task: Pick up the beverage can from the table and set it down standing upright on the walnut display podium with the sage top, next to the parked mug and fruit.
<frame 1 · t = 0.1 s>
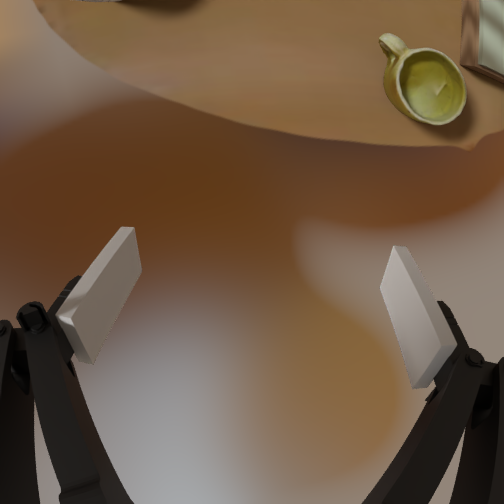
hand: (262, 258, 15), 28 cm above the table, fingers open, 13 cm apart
podium: (497, 38, 25), on the table
mug: (401, 73, 32), on the table
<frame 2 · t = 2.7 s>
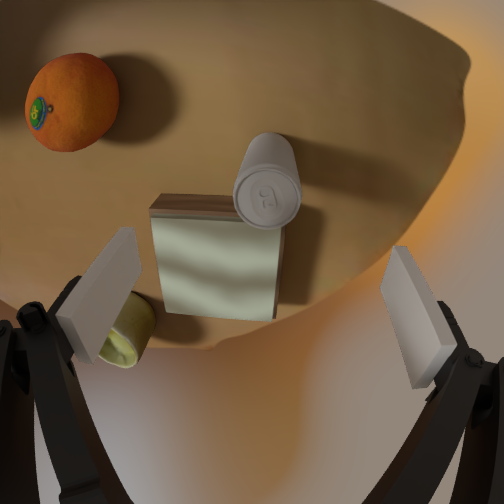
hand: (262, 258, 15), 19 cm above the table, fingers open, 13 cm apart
beverage can: (270, 153, 31), on the table
podium: (222, 249, 38), on the table
fruit: (91, 96, 28), on the table
mug: (121, 302, 45), on the table
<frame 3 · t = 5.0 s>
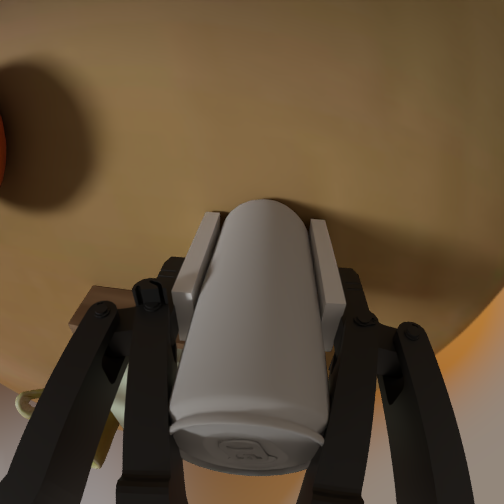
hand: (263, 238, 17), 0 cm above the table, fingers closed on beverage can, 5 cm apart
beverage can: (264, 233, 17), on the table, touching gripper
podium: (193, 360, 24), on the table
mug: (78, 389, 31), on the table
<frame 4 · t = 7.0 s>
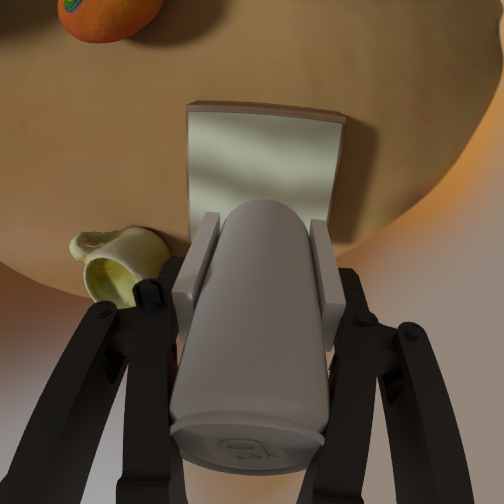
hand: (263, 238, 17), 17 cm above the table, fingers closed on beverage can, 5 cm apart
beverage can: (264, 233, 17), point 16 cm above the table, touching gripper
podium: (262, 169, 32), on the table
fruit: (128, 1, 22), on the table
mug: (132, 244, 39), on the table
when the fingers open (7 cm above the table, at t = 9.2 s): beverage can drops 1 cm, resting on podium.
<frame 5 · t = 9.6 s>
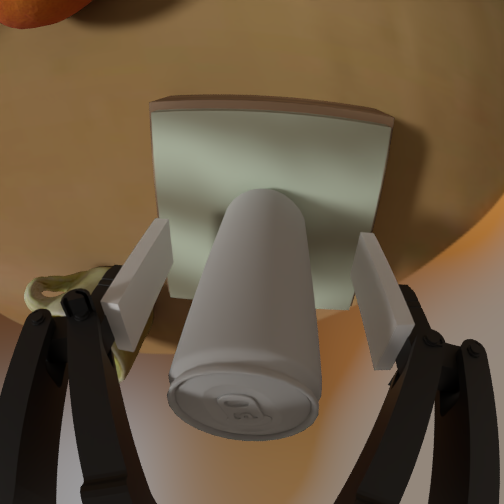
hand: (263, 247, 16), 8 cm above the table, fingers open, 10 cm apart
beverage can: (263, 221, 19), point 5 cm above the table, touching podium
podium: (267, 191, 23), on the table
mug: (103, 286, 30), on the table
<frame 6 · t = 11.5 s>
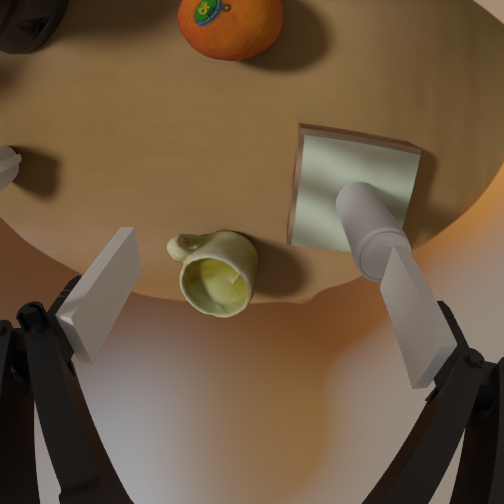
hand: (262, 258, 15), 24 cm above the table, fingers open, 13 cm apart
mug 2: (14, 160, 39), on the table
beverage can: (355, 199, 33), point 5 cm above the table, touching podium
podium: (347, 185, 37), on the table
fruit: (236, 22, 28), on the table
mug: (218, 247, 44), on the table
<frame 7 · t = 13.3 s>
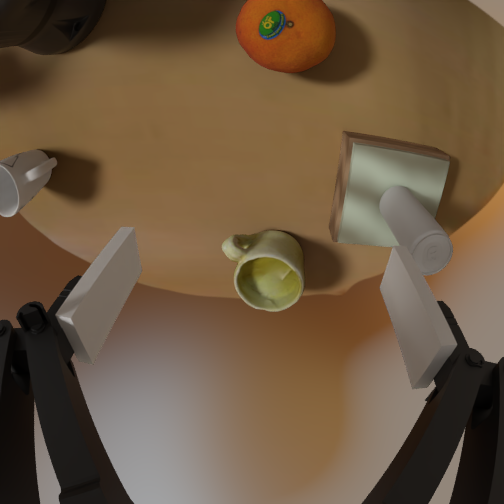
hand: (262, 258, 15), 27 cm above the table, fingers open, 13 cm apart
mug 2: (45, 163, 41), on the table
beverage can: (394, 201, 36), point 5 cm above the table, touching podium
podium: (384, 187, 40), on the table
fruit: (285, 33, 30), on the table
mug: (264, 245, 47), on the table
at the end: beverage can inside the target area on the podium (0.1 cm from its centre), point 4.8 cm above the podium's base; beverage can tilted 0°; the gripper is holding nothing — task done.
